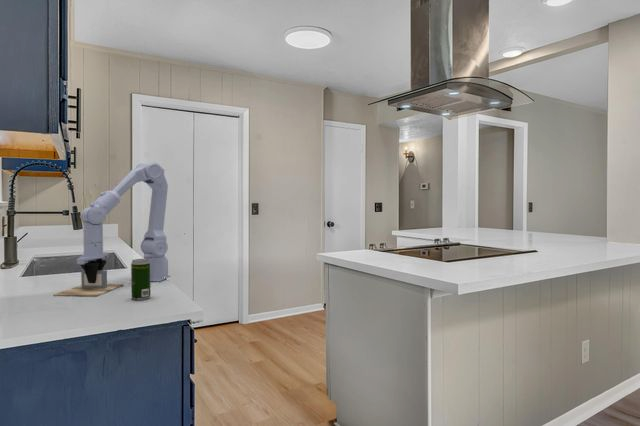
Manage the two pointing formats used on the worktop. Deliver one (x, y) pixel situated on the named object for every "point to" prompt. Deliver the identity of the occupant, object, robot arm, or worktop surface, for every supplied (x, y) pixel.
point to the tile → (100, 280)
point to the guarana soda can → (140, 279)
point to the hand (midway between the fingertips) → (93, 282)
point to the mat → (88, 291)
